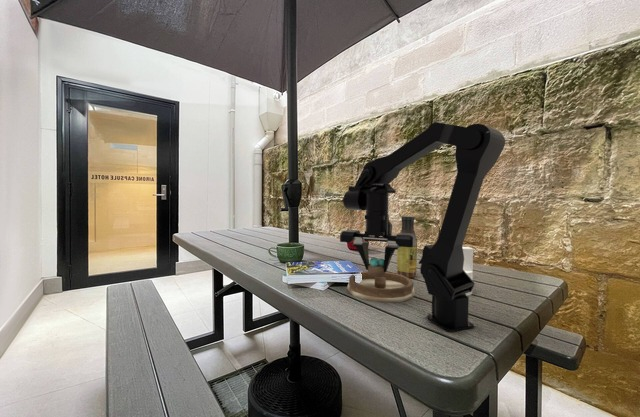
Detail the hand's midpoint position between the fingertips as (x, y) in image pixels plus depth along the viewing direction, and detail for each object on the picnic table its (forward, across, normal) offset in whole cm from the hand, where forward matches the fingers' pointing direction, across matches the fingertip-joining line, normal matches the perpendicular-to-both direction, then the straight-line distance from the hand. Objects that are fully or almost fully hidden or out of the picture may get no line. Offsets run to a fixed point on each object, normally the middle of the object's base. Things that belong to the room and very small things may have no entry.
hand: (376, 270), depth 71 cm
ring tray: (+7, 0, -5) cm, 8 cm away
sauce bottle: (+7, -4, -23) cm, 24 cm away
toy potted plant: (+1, 0, 0) cm, 1 cm away
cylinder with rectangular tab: (+7, -18, -14) cm, 24 cm away
